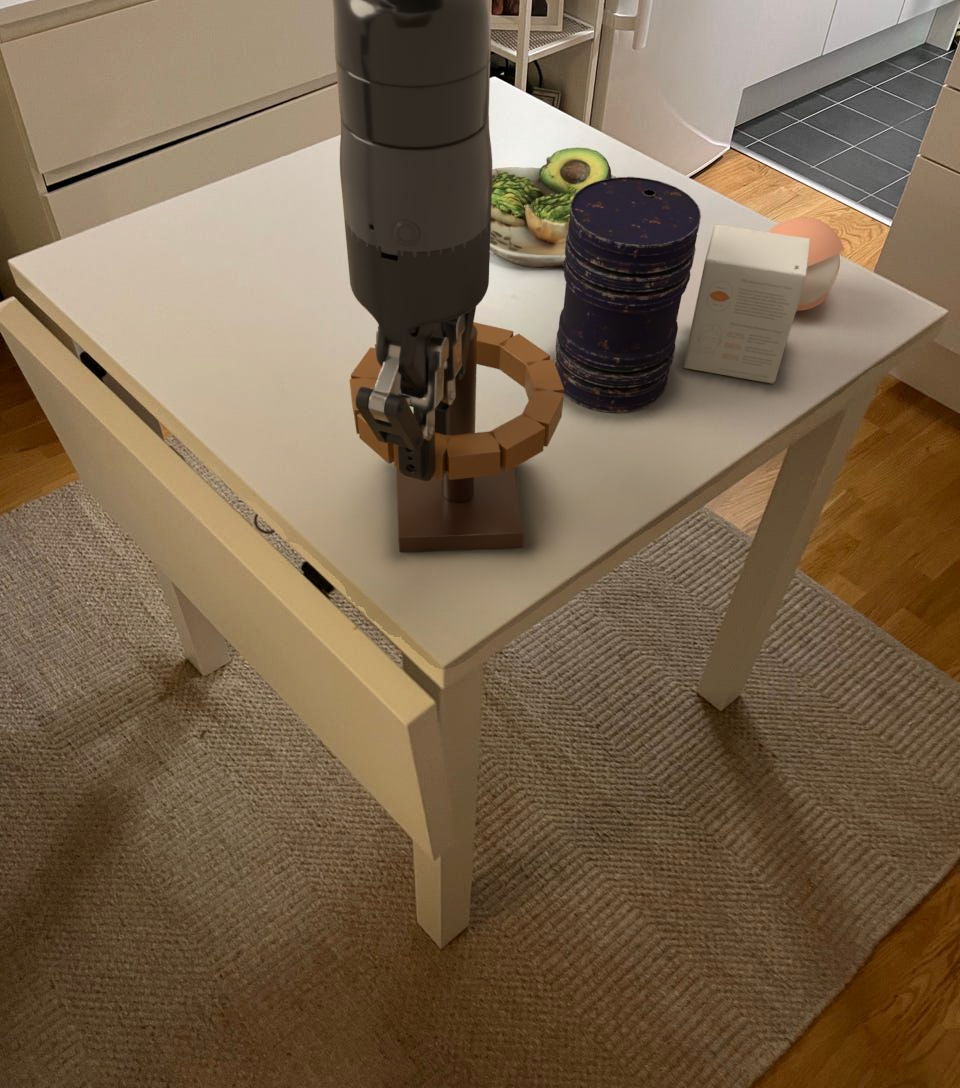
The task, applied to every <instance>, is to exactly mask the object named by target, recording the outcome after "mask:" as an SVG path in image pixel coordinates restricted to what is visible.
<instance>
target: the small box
mask: <svg viewBox="0 0 960 1088" xmlns="http://www.w3.org/2000/svg"><path fill="white" fill-rule="evenodd" d="M809 248H810V239H809V238H802V237H795V236H789V235H782V234H776V233H769V231H762V230H755V229H749V228H742V227H737V226H729V225H723V224H719V223H718V224H715V225H714V226H713V229H712V233H711V237H710V240H709V244H708V247H707V251H706V254H705V255H706V256H705V260H704V264H703V267H702V268H703V269H702V273H701V278H700V284H699V287H698V293H697V297H696V301H695V302H696V303H695V308H694V311H693V317H692V321H691V327H690V332H689V335H688V341H687V345H686V351H685V356H684V361H683V368H684V369H688V370H692V371H693V370H694V371H700V372H705V373H710V374H716V375H722V376H728V377H733V378H739V379H745V380H749V381H750V380H751V381H754V382H755V381H756V382H761V383H762V382H763V383H768V384H774V383H775V382H776V380H777V377H778V372H779V370H780V366H781V364H782V363H781V362H782V359H783V355H784V353H785V349H786V346H787V344H788V343H787V342H788V339H789V336H790V332H791V329H792V325H793V323H794V320H795V316H796V313H797V311H796V310H797V306H798V303H799V300H800V296H801V293H802V290H803V286H804V283H805V279H806V273H807V265H808V256H809Z"/></svg>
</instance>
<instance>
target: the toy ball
mask: <svg viewBox="0 0 960 1088" xmlns="http://www.w3.org/2000/svg"><path fill="white" fill-rule="evenodd" d="M768 232H769V233H776V234H782V235H789V236H795V237H802V238H809V239H810V248H809V256H808V265H807V273H806V279H805V283H804V286H803V290H802V293H801V296H800V300H799V303H798V306H797V310H796V312H801V311H806V310H811V309H813V308H815V307H817V306H819V305H820V304H821V303H822V302H824V301H825V299H826V298H827V297H828V295H829V293H830V292H831V290H832V287H833V286H834V284H835V283H836V280H837V278H838V276H839V272H840V266H841V255H840V254H841V253H842V252H843V251H844V250H845V247H844V244H843V242H842V239H841V238H840V236H839V234H838V233H837V232H836V231H835V229H834V228H833V227H832V226H830V224H828V223H826V222H824V221H823V220H821V219H818V218H814V217H808V216H800V217H799V216H798V217H793V218H789V219H786V220H784V221H782V222H780V223H778V224H776V225H775V226H774V227H772V228H771V229H770V230H769V231H768Z"/></svg>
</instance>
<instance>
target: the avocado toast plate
mask: <svg viewBox="0 0 960 1088" xmlns="http://www.w3.org/2000/svg"><path fill="white" fill-rule="evenodd" d="M545 161H546V163H545V164H543V165H542V166H541V167H520V166H519V167H516V166H514V167H513V166H512V167H511V166H510V167H509V166H508V167H497V168H492V202H491V232H490V252H491V253H493V254H495V255H497V256H498V257H501V258H503V259H505V260H507V261H509V262H511V263H513V264H516V265H520V266H524V267H530V268H531V267H532V268H544V267H564V260H565V257H566V256H565V245H566V236H567V233H568V227H569V221H570V206H571V201H572V199H573V197H574V196H575V194H576V193H577V192H578V191H579V190H580V189H582V188H583V187H585V186H587V185H589V184H591V183H593V182H596V181H600V180H604V179H609V178H617V176H615V175H613V174H612V169H611V166H610V164H609V161H608V160H607V158H606V157H605V156H604V155H603V154H602V153H601V152H599V151H597V150H594V149H591V148H587V147H570V148H569V147H568V148H563V149H560V150H557V151H555V152H554V153H553V154H552V155H551V156H547V158H546V160H545Z"/></svg>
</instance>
